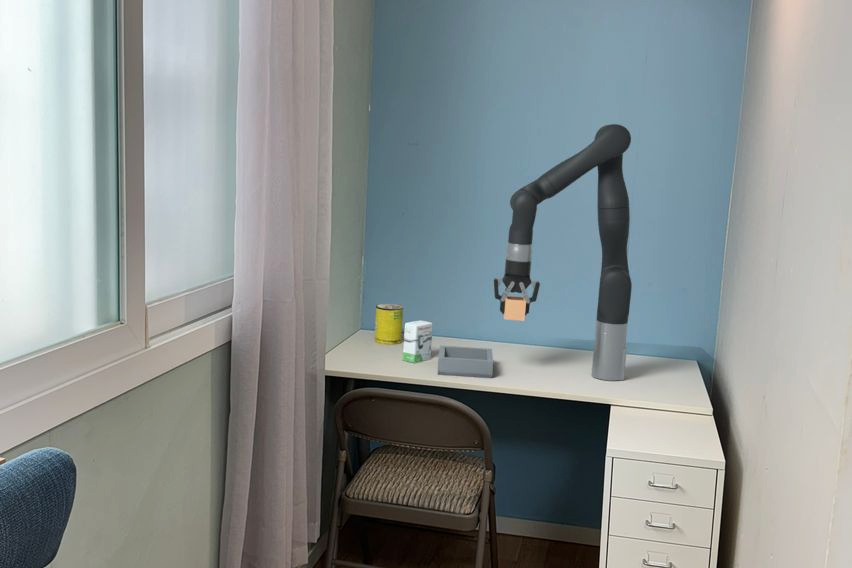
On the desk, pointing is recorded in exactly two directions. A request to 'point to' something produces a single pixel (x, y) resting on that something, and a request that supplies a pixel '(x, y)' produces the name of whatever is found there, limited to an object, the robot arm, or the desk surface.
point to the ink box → (417, 341)
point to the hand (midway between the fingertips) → (513, 314)
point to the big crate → (465, 361)
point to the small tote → (515, 308)
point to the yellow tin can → (388, 324)
